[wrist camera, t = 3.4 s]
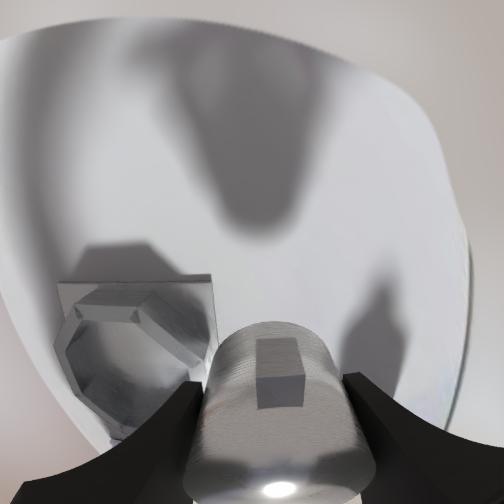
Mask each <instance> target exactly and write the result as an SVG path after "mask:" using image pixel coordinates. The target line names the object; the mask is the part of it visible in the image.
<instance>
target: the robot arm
mask: <svg viewBox="0 0 504 504" xmlns="http://www.w3.org/2000/svg"><path fill="white" fill-rule="evenodd" d="M342 382H343V384H344V387H345V389H346V392H347V394H348V396H349V399H350V401H351V403H352V406H353V408H354V411H355V413H356V416H357V418H358V420H359V423H360V425H361V428H362V430H363V433H364V435H365V438H366V440H367V443H368V445H369V448H370V450H371V453H372V455H373V458H374V460H375V463H376V472H375V475H374V477H373V479H372V481H371V482H370V484H369V485H368V486H367V487H366V488H365V489H364V490H363V491H362V492H360V494H361V499H362V504H504V448H502V447H495V446H490V445H485V444H481V443H477V442H473V441H470V440H467V439H464V438H461V437H458V436H456V435H453V434H451V433H448V432H446V431H444V430H442V429H440V428H438V427H436V426H434V425H432V424H430V423H428V422H426V421H425V420H423V419H421V418H420V417H418V416H416V415H415V414H413V413H412V412H410V411H409V410H407V409H406V408H404V407H403V406H402V405H400V404H399V403H397V402H396V401H395V400H393V399H392V398H391V397H390V396H388V395H387V394H386V393H384V392H383V391H382V390H381V389H380V388H378V387H377V386H376V385H375V384H373V383H372V382H371V381H370V380H369V379H367V378H366V377H365V376H364V375H363V374H361V373H360V372H357V373H350V374H343V380H342ZM203 395H204V392H203V387H202V382H198V381H184V382H183V383H182V384H181V385H180V386H179V387H178V388H177V389H176V391H175V392H174V393H173V394H172V395H171V396H170V397H169V398H168V399H167V400H166V402H165V403H164V404H163V405H162V406H161V407H160V408H159V409H158V410H157V411H156V412H155V413H154V414H153V415H152V416H151V417H150V418H149V419H148V420H147V421H146V422H145V423H143V424H142V425H141V426H140V427H139V428H138V429H137V430H135V431H134V432H133V433H132V434H131V435H129V436H128V437H127V438H126V439H124V440H123V441H119V440H115V439H111V440H110V444H111V446H112V447H113V448H112V449H110V450H108V451H107V452H105V453H103V454H102V455H100V456H98V457H96V458H95V459H93V460H91V461H89V462H87V463H85V464H83V465H81V466H78V467H76V468H74V469H71V470H69V471H66V472H63V473H60V474H57V475H54V476H50V477H46V478H41V479H37V480H32V481H26V482H24V483H23V484H22V485H21V487H20V489H19V490H18V492H17V493H16V495H15V497H14V498H13V500H12V502H11V503H10V504H193V499H192V498H191V497H190V496H189V495H188V494H187V493H186V491H185V489H184V487H183V477H184V473H185V469H186V465H187V461H188V456H189V452H190V448H191V444H192V440H193V436H194V432H195V428H196V424H197V420H198V415H199V411H200V407H201V403H202V399H203Z"/></svg>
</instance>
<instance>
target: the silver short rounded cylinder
mask: <svg viewBox="0 0 504 504" xmlns="http://www.w3.org/2000/svg"><path fill="white" fill-rule="evenodd" d="M375 472H376V463H375V460H374V458H373V455H372V453H371V450H370V448H369V445H368V443H367V440H366V438H365V435H364V433H363V430H362V428H361V425H360V423H359V420H358V418H357V416H356V413H355V411H354V408H353V406H352V403H351V401H350V399H349V396H348V394H347V392H346V389H345V387H344V384H343V382H342V380H341V377H340V375H339V373H338V370H337V368H336V366H335V364H334V361H333V359H332V357H331V354H330V352H329V350H328V348H327V346H326V345H325V343H324V342H323V341H322V339H320V338H319V337H318V336H317V335H316V334H315V333H313V332H312V331H310V330H308V329H307V328H305V327H302V326H299V325H297V324H293V323H288V322H279V321H271V322H262V323H257V324H253V325H250V326H247V327H244V328H242V329H240V330H238V331H236V332H235V333H233V334H232V335H230V336H229V337H228V338H227V339H225V340H224V341H223V342H222V344H221V345H220V346H219V347H218V349H217V350H216V352H215V354H214V357H213V360H212V364H211V368H210V371H209V375H208V379H207V383H206V387H205V391H204V395H203V399H202V403H201V407H200V411H199V415H198V420H197V424H196V428H195V432H194V436H193V440H192V444H191V448H190V452H189V456H188V461H187V465H186V469H185V473H184V477H183V487H184V489H185V491H186V493H187V494H188V495H189V496H190V497H191V498H192V499H193V500H194V501H195V502H197V503H198V504H343V503H345V502H347V501H349V500H351V499H352V498H354V497H355V496H356V495H358V494H359V493H360V492H362V491H363V490H364V489H365V488H366V487H367V486H368V485H369V484H370V482H371V481H372V479H373V477H374V475H375Z"/></svg>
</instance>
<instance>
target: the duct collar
mask: <svg viewBox="0 0 504 504" xmlns="http://www.w3.org/2000/svg"><path fill="white" fill-rule="evenodd" d="M56 285H57V289H58V294H59V298H60V302H61V306H62V309H63V313H64V317H65V321H64V323H63V325H62V327H61V329H60V331H59V334H58V336H57V338H56V340H55V342H54V348H55V351H56V353H57V356H58V359H59V361H60V364H61V366H62V369H63V371H64V373H65V376H66V378H67V380H68V382H69V385H70V387H71V389H72V391H73V393H74V395H75V396H76V397H77V398H78V399H79V400H80V401H82V402H83V403H84V404H85V405H86V406H88V407H89V408H90V409H91V410H93V411H94V412H95V413H96V414H98V415H99V416H100V417H102V418H103V419H104V420H106V421H107V422H108V423H110V424H111V425H112V426H114V427H115V428H117V429H118V430H119V431H121V432H124V433H128V434H132V433H133V432H134V431H135V430H137V429H138V428H139V427H140V426H141V425H142V424H143V423H145V422H146V421H147V420H148V419H149V418H150V417H151V416H152V415H153V414H154V413H155V412H156V411H157V410H158V409H159V408H160V407H161V406H162V405H163V404H164V403H165V402H166V400H167V399H168V398H169V397H170V396H171V395H172V394H173V393H174V392H175V391H176V389H177V388H178V387H179V386H180V385H181V384H182V383H183V382H184V381H198V382H202V387H203V392H204V391H205V387H206V383H207V379H208V375H209V371H210V368H211V364H212V360H213V357H214V354H215V352H216V350H217V349H218V347H219V343H218V335H217V326H216V317H215V308H214V298H213V288H212V281H194V282H142V283H69V282H59V283H57V284H56Z"/></svg>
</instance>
